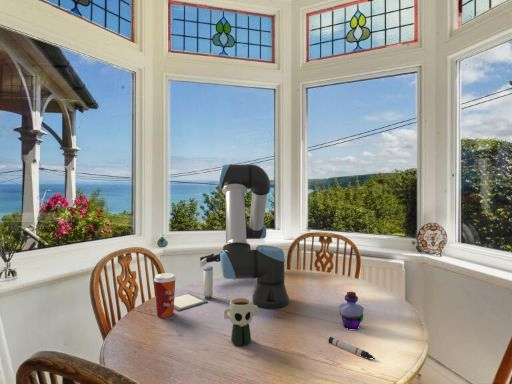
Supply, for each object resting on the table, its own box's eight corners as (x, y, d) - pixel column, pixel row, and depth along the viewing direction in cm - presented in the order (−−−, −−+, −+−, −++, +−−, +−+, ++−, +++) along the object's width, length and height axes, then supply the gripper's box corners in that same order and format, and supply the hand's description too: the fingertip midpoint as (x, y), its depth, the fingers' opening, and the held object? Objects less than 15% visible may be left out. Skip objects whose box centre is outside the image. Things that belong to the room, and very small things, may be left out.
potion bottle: (365, 333, 112) (366, 297, 112) (339, 331, 114) (339, 296, 114) (362, 322, 121) (362, 289, 120) (337, 320, 122) (337, 288, 122)
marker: (328, 344, 106) (328, 337, 105) (332, 342, 107) (332, 335, 107) (373, 363, 94) (373, 356, 94) (377, 361, 95) (377, 354, 95)
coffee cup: (170, 319, 123) (170, 279, 123) (149, 318, 125) (149, 278, 125) (180, 311, 132) (179, 273, 131) (160, 309, 133) (160, 272, 133)
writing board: (207, 302, 141) (207, 300, 141) (178, 311, 132) (178, 309, 132) (189, 294, 151) (189, 292, 151) (160, 302, 142) (160, 300, 142)
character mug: (226, 350, 101) (226, 307, 101) (221, 339, 108) (221, 299, 108) (261, 345, 104) (261, 303, 104) (254, 335, 111) (254, 295, 111)
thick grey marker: (214, 298, 146) (214, 267, 146) (207, 300, 143) (206, 269, 143) (209, 296, 149) (209, 265, 149) (201, 298, 146) (201, 267, 146)
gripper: (251, 262, 174) (241, 274, 154) (205, 260, 179) (189, 271, 159) (251, 248, 174) (241, 258, 153) (205, 246, 179) (189, 255, 158)
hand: (214, 265), depth 156 cm, fingers open, 13 cm apart
